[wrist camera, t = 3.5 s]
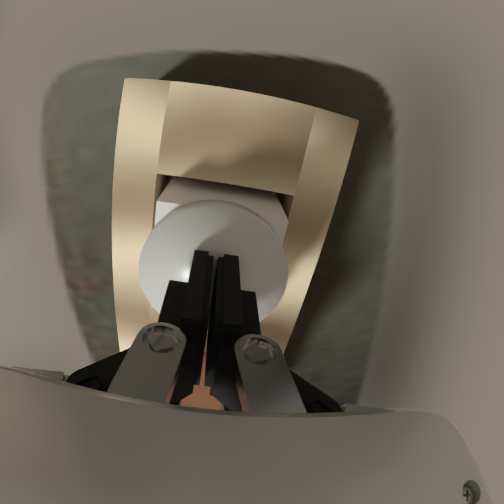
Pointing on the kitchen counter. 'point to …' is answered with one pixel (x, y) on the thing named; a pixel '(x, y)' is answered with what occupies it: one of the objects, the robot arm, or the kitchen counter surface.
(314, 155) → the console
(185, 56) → the kitchen counter surface
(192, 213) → the grey button
